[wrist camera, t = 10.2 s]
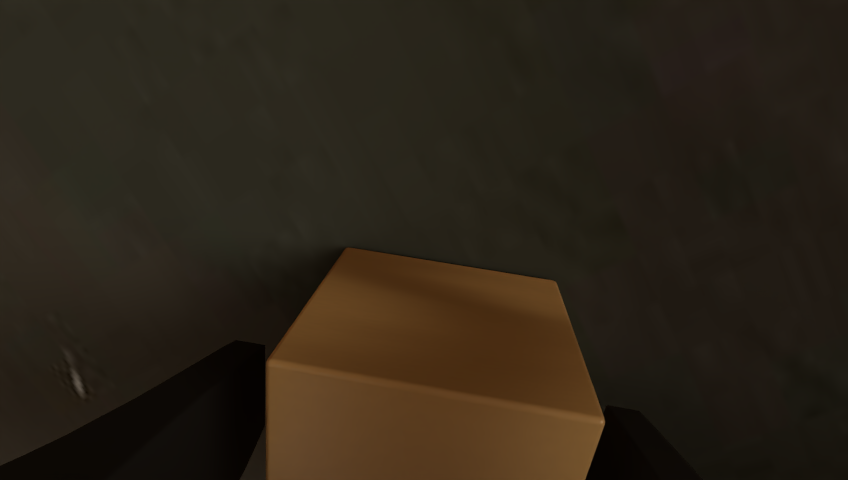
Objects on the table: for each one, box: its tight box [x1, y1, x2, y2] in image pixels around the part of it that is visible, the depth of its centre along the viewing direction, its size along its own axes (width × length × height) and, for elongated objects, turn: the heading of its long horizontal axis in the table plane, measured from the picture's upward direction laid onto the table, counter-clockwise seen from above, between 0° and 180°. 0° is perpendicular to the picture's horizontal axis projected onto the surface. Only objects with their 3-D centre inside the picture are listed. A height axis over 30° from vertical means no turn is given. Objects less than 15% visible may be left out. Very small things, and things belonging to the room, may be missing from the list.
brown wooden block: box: [266, 247, 605, 480], centre depth 9 cm, size 4×6×4 cm
